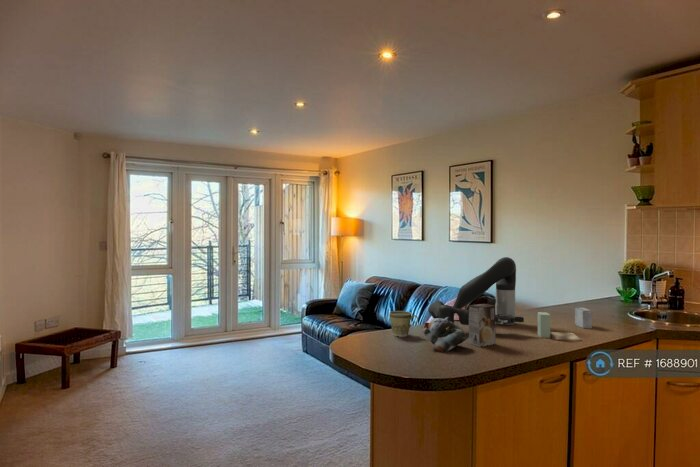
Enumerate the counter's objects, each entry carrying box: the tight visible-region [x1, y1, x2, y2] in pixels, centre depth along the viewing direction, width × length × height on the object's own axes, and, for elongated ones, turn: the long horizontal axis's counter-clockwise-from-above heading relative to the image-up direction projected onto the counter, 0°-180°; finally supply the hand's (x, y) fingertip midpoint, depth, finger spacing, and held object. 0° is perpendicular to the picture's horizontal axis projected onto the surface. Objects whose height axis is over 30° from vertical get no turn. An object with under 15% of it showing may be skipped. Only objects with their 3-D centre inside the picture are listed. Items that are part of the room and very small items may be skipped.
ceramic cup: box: [389, 310, 419, 338], centre depth 193 cm, size 13×10×10 cm
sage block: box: [537, 311, 551, 339], centre depth 192 cm, size 4×6×10 cm, turn 168°
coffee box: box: [468, 303, 497, 348], centre depth 178 cm, size 9×6×16 cm
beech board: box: [550, 331, 582, 342], centre depth 190 cm, size 11×12×1 cm
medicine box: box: [574, 307, 593, 329], centre depth 211 cm, size 8×4×9 cm, turn 179°
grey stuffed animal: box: [422, 316, 468, 353], centre depth 173 cm, size 15×12×14 cm
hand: (523, 319), depth 194 cm, fingers closed
